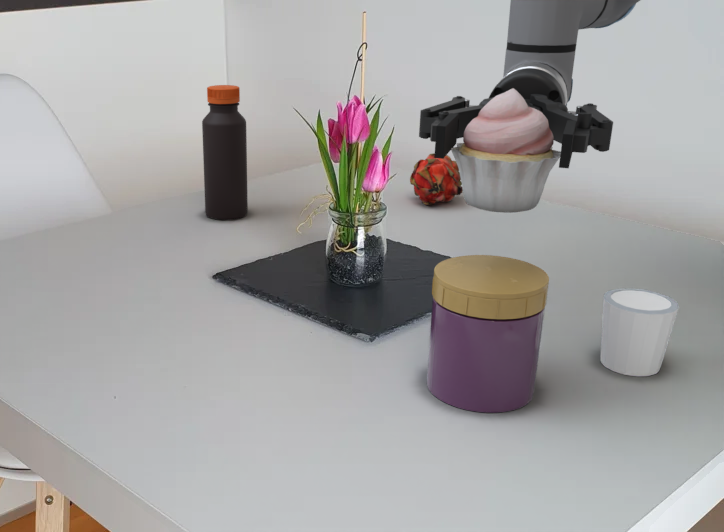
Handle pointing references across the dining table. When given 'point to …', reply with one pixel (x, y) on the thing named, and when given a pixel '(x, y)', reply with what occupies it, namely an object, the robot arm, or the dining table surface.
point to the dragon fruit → (436, 179)
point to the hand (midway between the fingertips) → (501, 146)
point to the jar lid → (490, 286)
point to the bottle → (225, 155)
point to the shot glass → (636, 330)
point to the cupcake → (505, 155)
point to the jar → (483, 360)
